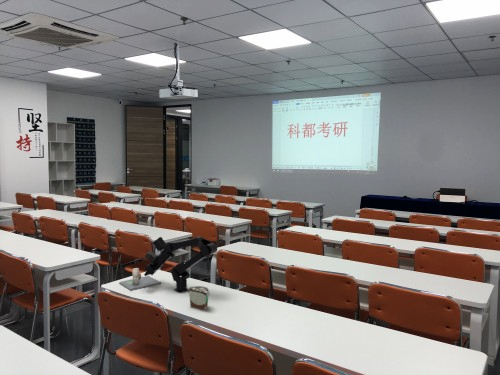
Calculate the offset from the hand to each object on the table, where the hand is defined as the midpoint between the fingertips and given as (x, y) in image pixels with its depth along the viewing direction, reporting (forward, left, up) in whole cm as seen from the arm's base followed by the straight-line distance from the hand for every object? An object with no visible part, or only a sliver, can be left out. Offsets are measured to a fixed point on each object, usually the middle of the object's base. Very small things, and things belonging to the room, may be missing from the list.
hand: (144, 275), depth 226 cm
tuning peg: (+8, +2, -5) cm, 10 cm away
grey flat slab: (+6, 0, -7) cm, 9 cm away
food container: (-47, -8, -7) cm, 48 cm away
